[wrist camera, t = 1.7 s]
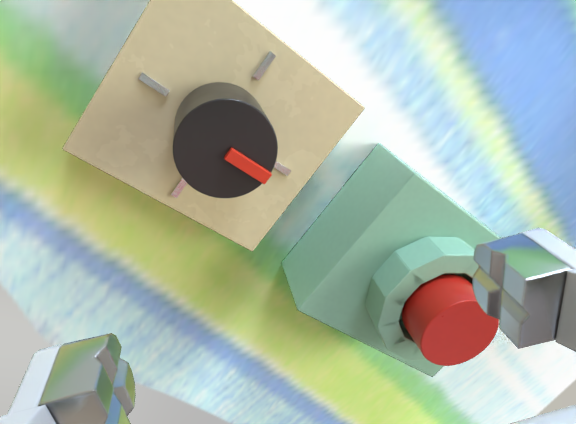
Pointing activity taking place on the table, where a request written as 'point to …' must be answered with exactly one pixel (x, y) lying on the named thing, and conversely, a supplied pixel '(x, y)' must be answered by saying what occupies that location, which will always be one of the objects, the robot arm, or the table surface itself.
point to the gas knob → (223, 141)
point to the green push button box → (381, 254)
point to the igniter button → (448, 320)
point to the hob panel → (190, 75)
